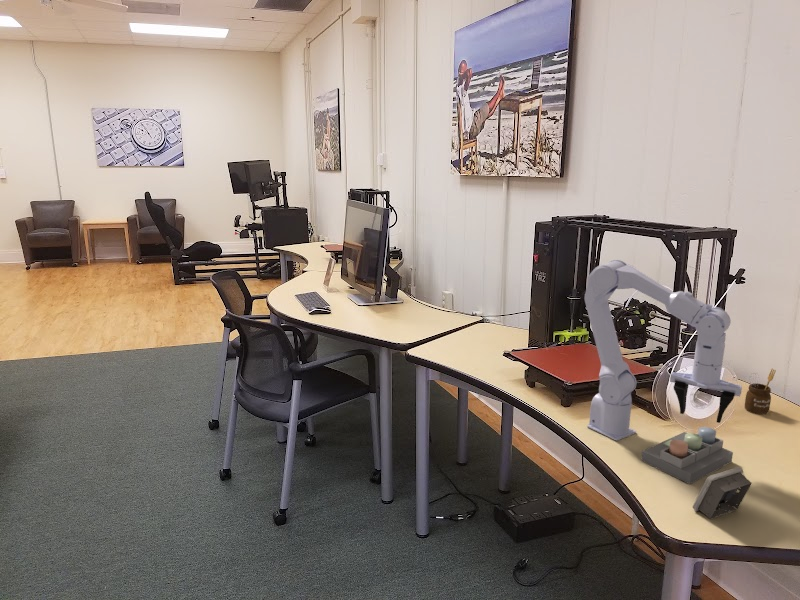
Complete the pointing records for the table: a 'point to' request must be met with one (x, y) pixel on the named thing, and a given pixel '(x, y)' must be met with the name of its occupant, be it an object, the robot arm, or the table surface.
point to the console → (688, 459)
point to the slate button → (707, 434)
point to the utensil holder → (759, 396)
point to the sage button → (693, 441)
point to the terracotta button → (678, 448)
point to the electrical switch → (722, 493)
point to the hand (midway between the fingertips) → (700, 416)
